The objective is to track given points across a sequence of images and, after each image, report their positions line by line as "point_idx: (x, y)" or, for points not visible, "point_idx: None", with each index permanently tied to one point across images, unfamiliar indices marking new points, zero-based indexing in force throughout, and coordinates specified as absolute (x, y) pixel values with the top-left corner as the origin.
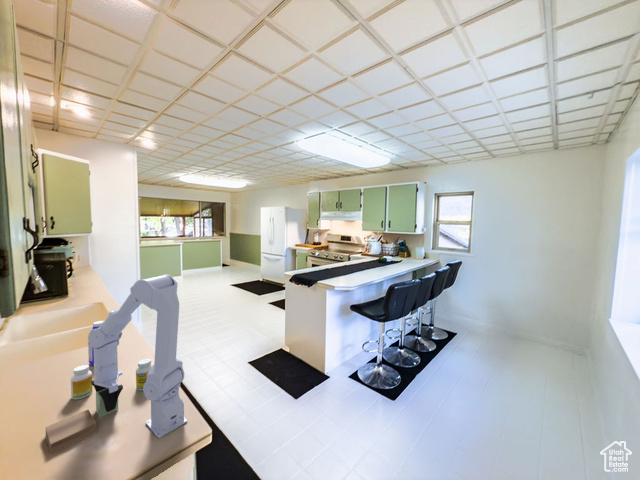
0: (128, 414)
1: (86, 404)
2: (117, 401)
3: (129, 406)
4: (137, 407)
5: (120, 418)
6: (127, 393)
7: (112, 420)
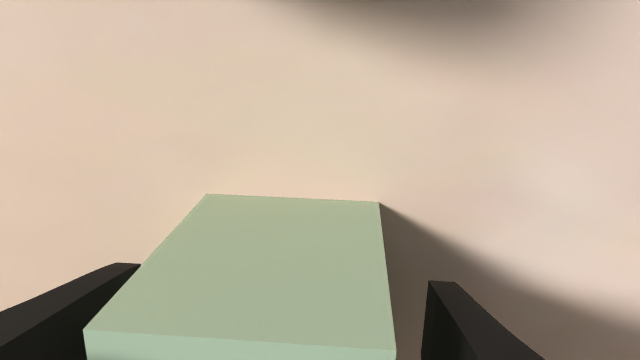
0: (604, 169)
1: None
2: (383, 253)
3: (444, 103)
4: (567, 45)
5: (590, 246)
6: (100, 10)
7: (542, 303)
